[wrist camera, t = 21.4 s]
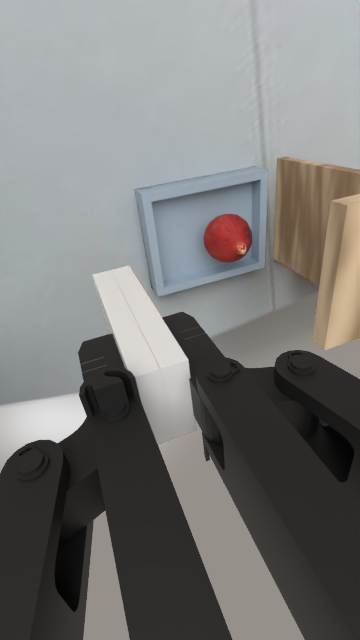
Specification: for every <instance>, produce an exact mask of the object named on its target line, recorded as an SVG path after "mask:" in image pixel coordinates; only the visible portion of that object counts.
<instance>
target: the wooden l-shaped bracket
mask: <svg viewBox="0 0 360 640" xmlns="http://www.w3.org/2000/svg"><path fill="white" fill-rule="evenodd" d="M273 259H274V260H276V261H278V262H279V263H281V264H283V265H284V266H286V267H288V268H289V269H291V270H292V271H294V272H296V273H297V274H299V275H301V276H302V277H304V278H306V279H307V280H309V281H311V282H312V283H314V284H315V285H317V286H319V293H318V300H317V307H316V315H315V322H314V330H313V337H312V341H313V342H314V343H316V344H317V345H318V346H319V347H321V348H322V349H323V350H327V349H330V348H332V347H335V346H338V345H341V344H344V343H346V342H349V341H352V340H355V339H358V338H360V170H357V169H351V168H346V167H340V166H334V165H329V164H323V163H318V162H312V161H306V160H301V159H295V158H289V157H282V158H278V160H277V182H276V203H275V224H274V246H273Z"/></svg>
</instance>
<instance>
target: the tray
mask: <svg viewBox="0 0 360 640" xmlns="http://www.w3.org/2000/svg"><path fill="white" fill-rule="evenodd" d="M267 191H268V169H265V168H261V167H257V166H254V167H248V168H243V169H238V170H233V171H228V172H222V173H217V174H212V175H207V176H202V177H196V178H191V179H186V180H181V181H176V182H170V183H165V184H160V185H155V186H150V187H144V188H139V189H135V194H136V200H137V206H138V211H139V217H140V223H141V229H142V235H143V241H144V246H145V252H146V258H147V264H148V270H149V276H150V281H151V287H152V289H153V290H154V292H155V293H156V295H157V296H158V297H159V296H163V295H167V294H170V293H174V292H178V291H181V290H185V289H188V288H192V287H196V286H199V285H203V284H207V283H210V282H214V281H218V280H221V279H225V278H229V277H232V276H236V275H239V274H243V273H247V272H250V271H254V270H258V269H261V268H265V248H266V220H267ZM223 214H236V215H238V216H240V217H241V218H243V219H244V220H245V221H247V223H248V225H249V227H250V229H251V231H252V245H251V247H250V250H249V251H248V253H247V254H246V255H245V256H244V257H243V258H241V259H240V260H238V261H235V262H231V263H228V262H220V261H218V260H216V259H215V258H213V257H211V256H210V254H209V253H208V251H207V250H206V248H205V245H204V233H205V229H206V227H207V226H208V224H209V223H210V222H211V221H212V220H213V219H215V218H216V217H217V216H220V215H223Z"/></svg>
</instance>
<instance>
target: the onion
mask: <svg viewBox="0 0 360 640" xmlns="http://www.w3.org/2000/svg"><path fill="white" fill-rule="evenodd" d="M204 245H205V248H206V250H207V251H208V253H209V254H210V256H211V257H213V258H215V259H216V260H218V261H220V262H228V263H231V262H235V261H238V260H240V259H241V258H243V257H244V256H245V255H246V254H247V253H248V251H249V250H250V247H251V245H252V231H251V229H250V227H249V225H248V223H247V221H245V220H244V219H243V218H241V217H240V216H238V215H236V214H223V215H220V216H217V217H216V218H215V219H213V220H212V221H211V222H210V223H209V224H208V226H207V227H206V229H205V233H204Z"/></svg>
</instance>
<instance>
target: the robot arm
mask: <svg viewBox="0 0 360 640" xmlns="http://www.w3.org/2000/svg"><path fill="white" fill-rule="evenodd" d="M93 279H94V283H95V286H96V290H97V294H98V297H99V301H100V304H101V308H102V312H103V315H104V319H105V323H106V326H107V330H108V333H109V334H108V335H105V336H101V337H98V338H94V339H91V340H88V341H84V342H83V343H82V345H81V347H80V350H79V352H78V354H79V359H80V364H81V370H82V375H83V380H84V382H83V384H82V385H81V387H80V393H79V397H80V399H81V402H82V404H83V407H84V410H85V412H86V415H87V418H86V419H85V421H84V423H83V424H82V425H81V426H80V427H79V428H78V430H77V431H75V432H74V433H73V434H71V435H70V436H69V437H67V438H65V439H64V440H63V441H61V442H59V443H55V442H53V441H51V440H38V441H35V442H31V443H29V444H26V445H25V446H23V447H22V448H20V449H18V450H17V451H16V452H15V453H14V454H13V455H12V456H11V457H10V458H9V459H8V460H7V462H6V463H5V465H4V467H3V469H2V471H1V473H0V640H83V634H84V623H85V611H86V600H87V589H88V577H89V566H90V555H91V543H92V532H93V520H94V519H95V518H96V517H97V516H99V515H100V514H101V513H102V512H104V511H105V510H106V515H107V521H108V526H109V531H110V537H111V542H112V547H113V552H114V557H115V563H116V568H117V573H118V579H119V584H120V589H121V595H122V600H123V605H124V611H125V616H126V621H127V626H128V631H129V637H130V640H232V638H231V635H230V632H229V630H228V627H227V625H226V622H225V619H224V617H223V614H222V612H221V609H220V606H219V604H218V601H217V599H216V596H215V593H214V590H213V588H212V585H211V583H210V580H209V577H208V575H207V572H206V570H205V567H204V564H203V562H202V559H201V557H200V554H199V551H198V549H197V546H196V543H195V541H194V538H193V536H192V533H191V530H190V528H189V525H188V523H187V520H186V517H185V515H184V512H183V510H182V507H181V504H180V502H179V499H178V497H177V494H176V491H175V489H174V486H173V483H172V481H171V478H170V476H169V473H168V471H167V468H166V465H165V463H164V460H163V458H162V455H161V452H160V450H159V447H158V445H159V444H161V443H164V442H166V441H169V440H172V439H174V438H177V437H180V436H182V435H185V434H187V433H190V432H192V431H195V430H197V426H196V420H197V422H198V424H199V426H200V428H201V430H202V436H203V445H204V454H205V458H206V461H208V460H210V458H209V455H210V457H211V459H212V460H213V462H214V464H215V466H216V468H217V470H218V472H219V474H220V476H221V478H222V480H223V482H224V484H225V486H226V487H227V489H228V491H229V493H230V495H231V497H232V499H233V501H234V503H235V505H236V507H237V508H238V511H239V513H240V515H241V517H242V519H243V521H244V522H245V524H246V526H247V528H248V530H249V532H250V534H251V536H252V538H253V540H254V542H255V544H256V546H257V548H258V550H259V551H260V554H261V555H262V557H263V559H264V561H265V563H266V565H267V567H268V569H269V571H270V573H271V575H272V577H273V579H274V581H275V583H276V585H277V586H278V588H279V590H280V592H281V594H282V596H283V598H284V600H285V602H286V604H287V606H288V608H289V610H290V611H291V614H292V616H293V617H294V619H295V621H296V623H297V625H298V627H299V629H300V631H301V633H302V635H303V637H304V639H305V640H360V379H358V378H357V377H355V376H353V375H351V374H349V373H348V372H346V371H344V370H343V369H341V368H339V367H337V366H336V365H334V364H332V363H330V362H328V361H327V360H325V359H323V358H321V357H320V356H318V355H316V354H313V353H311V352H307V351H301V350H294V351H288V352H285V353H282V354H281V355H280V356H279V357H278V358H277V359H276V362H275V367H266V368H244V367H243V366H242V365H241V364H240V363H239V362H238V361H236V360H233V359H230V358H225V357H224V356H223V354H222V353H221V352H220V350H219V349H218V348H217V347H216V345H215V344H214V343H213V342H212V340H211V339H210V338H209V336H208V335H207V334H205V331H204V330H203V329H202V328H201V327H200V325H199V324H198V323H197V321H196V320H195V319H194V317H192V316H190V315H188V314H186V313H184V312H180V313H176V314H173V315H169V316H166V317H161V316H160V314H159V312H158V311H157V309H156V308H155V306H154V305H153V303H152V301H151V300H150V298H149V297H148V295H147V294H146V292H145V290H144V289H143V287H142V286H141V284H140V282H139V281H138V279H137V278H136V276H135V275H134V273H133V271H132V270H131V268H130V267H129V266H126V267H122V268H118V269H114V270H109V271H105V272H101V273H97V274H93Z"/></svg>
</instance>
